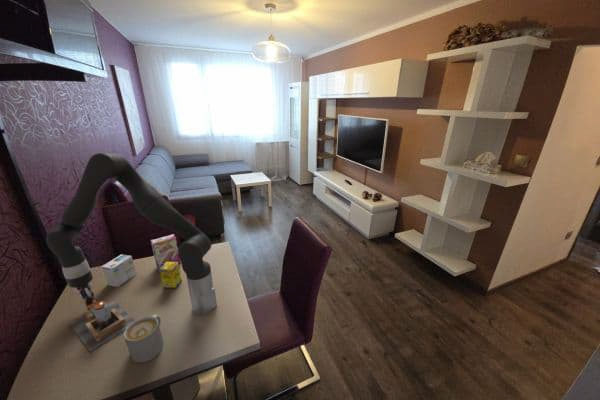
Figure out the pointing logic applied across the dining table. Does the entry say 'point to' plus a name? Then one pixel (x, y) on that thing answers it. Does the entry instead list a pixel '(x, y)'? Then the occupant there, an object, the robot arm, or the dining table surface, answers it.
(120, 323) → the dock
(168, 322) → the dining table surface
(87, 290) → the robot arm
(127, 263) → the light bulb box
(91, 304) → the pin
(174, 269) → the supplement box
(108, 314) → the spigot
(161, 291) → the dining table surface
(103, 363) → the dining table surface
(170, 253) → the candy bar box
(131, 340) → the coffee mug
